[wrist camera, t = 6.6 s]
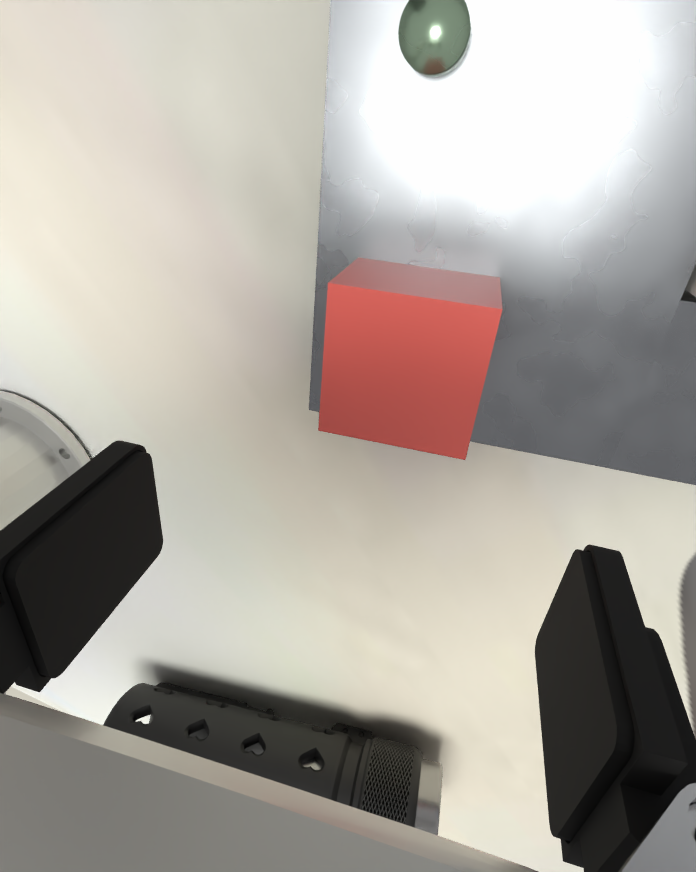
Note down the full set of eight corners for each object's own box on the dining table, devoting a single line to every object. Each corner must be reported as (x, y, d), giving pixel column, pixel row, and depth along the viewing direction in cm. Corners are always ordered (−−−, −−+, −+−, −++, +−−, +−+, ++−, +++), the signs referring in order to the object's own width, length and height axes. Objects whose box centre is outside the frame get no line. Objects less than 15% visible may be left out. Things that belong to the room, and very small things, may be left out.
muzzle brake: (148, 650, 48) (72, 762, 39) (447, 719, 42) (436, 869, 33) (166, 710, 52) (102, 822, 44) (436, 779, 47) (424, 924, 38)
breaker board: (735, 463, 26) (775, 513, 22) (324, 387, 29) (302, 420, 26) (1046, -70, 16) (1210, -133, 12) (357, -89, 19) (327, -143, 16)
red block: (469, 406, 25) (465, 459, 20) (346, 383, 26) (318, 430, 21) (499, 277, 21) (502, 309, 17) (358, 257, 22) (327, 282, 18)
